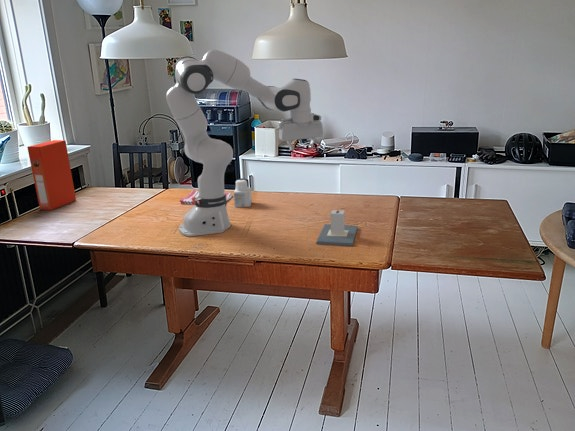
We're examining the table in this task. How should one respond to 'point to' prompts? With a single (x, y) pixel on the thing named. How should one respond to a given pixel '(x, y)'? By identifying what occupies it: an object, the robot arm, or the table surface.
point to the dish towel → (195, 194)
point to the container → (242, 193)
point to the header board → (337, 236)
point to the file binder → (52, 174)
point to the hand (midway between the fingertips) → (301, 149)
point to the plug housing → (337, 222)
